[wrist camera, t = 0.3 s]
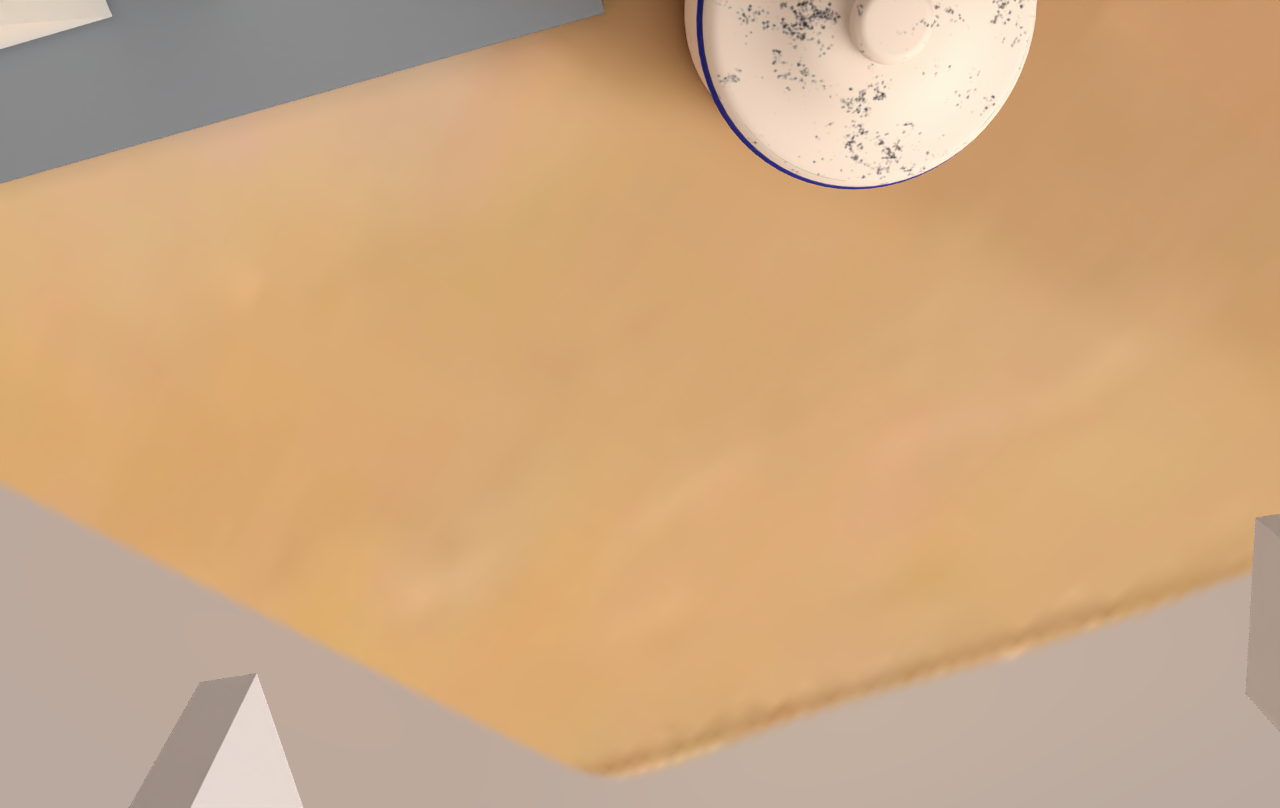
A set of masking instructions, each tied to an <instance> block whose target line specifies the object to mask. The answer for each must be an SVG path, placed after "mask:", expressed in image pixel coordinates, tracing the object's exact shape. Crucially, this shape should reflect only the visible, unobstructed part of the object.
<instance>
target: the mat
mask: <svg viewBox="0 0 1280 808" xmlns="http://www.w3.org/2000/svg"><path fill="white" fill-rule="evenodd" d="M106 2H107V5H108V7H109V9H110V12H111V14H112V17H109V18H106V19H102V20H99V21H96V22H92V23H89V24H85V25H82V26H78V27H75V28H72V29H68V30H65V31H61V32H58V33H54V34H51V35H47V36H44V37H41V38H37V39H34V40H30V41H27V42H23V43H20V44H17V45H13V46H10V47H6V48H3V49H0V183H4V182H7V181H11V180H14V179H18V178H22V177H25V176H29V175H32V174H36V173H39V172H43V171H46V170H50V169H53V168H57V167H60V166H64V165H68V164H71V163H75V162H78V161H82V160H85V159H89V158H92V157H96V156H99V155H103V154H107V153H110V152H114V151H117V150H121V149H124V148H128V147H131V146H135V145H138V144H142V143H145V142H149V141H153V140H156V139H160V138H163V137H167V136H170V135H174V134H177V133H181V132H184V131H188V130H191V129H195V128H199V127H202V126H206V125H209V124H213V123H216V122H220V121H223V120H227V119H230V118H234V117H238V116H241V115H245V114H248V113H252V112H255V111H259V110H262V109H266V108H269V107H273V106H276V105H280V104H284V103H287V102H291V101H294V100H298V99H301V98H305V97H308V96H312V95H315V94H319V93H322V92H326V91H330V90H333V89H337V88H340V87H344V86H347V85H351V84H354V83H358V82H361V81H365V80H369V79H372V78H376V77H379V76H383V75H386V74H390V73H393V72H397V71H400V70H404V69H407V68H411V67H415V66H418V65H422V64H425V63H429V62H432V61H436V60H439V59H443V58H446V57H450V56H453V55H457V54H461V53H464V52H468V51H471V50H475V49H478V48H482V47H485V46H489V45H492V44H496V43H500V42H503V41H507V40H510V39H514V38H517V37H521V36H524V35H528V34H531V33H535V32H538V31H542V30H546V29H549V28H553V27H556V26H560V25H563V24H567V23H570V22H574V21H577V20H581V19H584V18H588V17H592V16H595V15H599V14H602V13H605V12H604V8H603V4H602V0H106Z"/></svg>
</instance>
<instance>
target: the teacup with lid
mask: <svg viewBox="0 0 1280 808" xmlns="http://www.w3.org/2000/svg"><path fill="white" fill-rule="evenodd" d="M1036 5H1037V0H685V8H684V16H685V30H686V38H687V42H688V47H689V51H690V54H691V57H692V60H693V63H694V65H695V68H696V70H697V72H698V74H699V76H700V78H701V80H702V82H703V83H704V85H705V87H706V88H707V90H708V91H709V92H710V94H711V95H712V97H713V100H714V102H715V104H716V105H717V107H718V109H719V111H720V113H721V114H722V116H723V118H724V119H725V120H726V122H727V123H728V125H729V126H730V128H731V129H732V130H733V131H734V133H735V134H736V135H737V136H738V137H739V138H740V140H741V141H742V142H743V143H744V144H745V145H746V146H747V147H748V148H749V149H750V150H752V151H753V152H754V153H755V154H756V155H758V156H759V157H760V158H761V159H763V160H764V161H765V162H767V163H768V164H770V165H771V166H773V167H775V168H776V169H778V170H780V171H782V172H784V173H786V174H788V175H790V176H792V177H794V178H797V179H800V180H802V181H805V182H808V183H812V184H816V185H820V186H824V187H831V188H838V189H870V188H876V187H883V186H888V185H892V184H896V183H900V182H903V181H906V180H909V179H912V178H914V177H917V176H919V175H921V174H924V173H926V172H928V171H930V170H932V169H934V168H935V167H937V166H939V165H941V164H942V163H944V162H946V161H947V160H949V159H950V158H951V157H953V156H954V155H956V154H957V153H959V152H960V151H961V150H962V149H963V148H965V147H966V146H967V145H968V144H969V143H970V142H972V141H973V140H974V139H975V138H976V137H977V136H978V135H979V134H980V133H981V132H982V131H983V130H984V129H985V128H986V126H987V125H988V124H989V123H990V122H991V120H992V119H993V118H994V117H995V116H996V114H997V113H998V111H999V110H1000V109H1001V107H1002V106H1003V104H1004V103H1005V101H1006V100H1007V98H1008V96H1009V95H1010V93H1011V91H1012V89H1013V88H1014V86H1015V84H1016V82H1017V80H1018V77H1019V75H1020V73H1021V71H1022V68H1023V66H1024V63H1025V60H1026V57H1027V55H1028V51H1029V48H1030V44H1031V40H1032V36H1033V30H1034V24H1035V18H1036Z"/></svg>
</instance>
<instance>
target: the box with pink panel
mask: <svg viewBox="0 0 1280 808" xmlns="http://www.w3.org/2000/svg"><path fill="white" fill-rule="evenodd" d="M109 17H112V14H111V12H110V9H109V7H108V5H107V2H106V0H0V49H3V48H6V47H10V46H13V45H17V44H20V43H23V42H27V41H30V40H34V39H37V38H41V37H44V36H47V35H51V34H54V33H58V32H61V31H65V30H68V29H72V28H75V27H78V26H82V25H85V24H89V23H92V22H96V21H99V20H102V19H106V18H109Z"/></svg>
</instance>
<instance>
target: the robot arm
mask: <svg viewBox="0 0 1280 808" xmlns="http://www.w3.org/2000/svg"><path fill="white" fill-rule="evenodd" d="M1249 625H1250V626H1249V642H1248V659H1247V677H1246V695H1247V696H1248V697H1249V698H1250V699H1251V700H1252V701H1253V702H1254V704H1255V705H1256V706H1257V707H1258V708H1259V709H1260V710H1261V711H1262V712H1263V714H1264V715H1265V716H1266V717H1267V718H1268V719H1269V720H1270V721H1271V723H1272V724H1273V725H1274V726H1275V727H1276V728H1277V729H1278V730H1279V731H1280V514H1276V515H1270V516H1263V517H1257V518H1255V534H1254V552H1253V570H1252V588H1251V606H1250V623H1249ZM129 808H303V806H302V803H301V800H300V797H299V794H298V791H297V789H296V786H295V782H294V780H293V777H292V774H291V771H290V768H289V765H288V763H287V759H286V757H285V754H284V751H283V748H282V745H281V742H280V739H279V736H278V733H277V731H276V728H275V725H274V722H273V719H272V716H271V713H270V711H269V707H268V705H267V702H266V699H265V696H264V693H263V690H262V688H261V684H260V682H259V679H258V676H257V674H256V673H255V674H249V675H243V676H236V677H230V678H223V679H217V680H211V681H205V682H200V683H199V685H198V686H197V688H196V690H195V692H194V693H193V695H192V697H191V699H190V701H189V702H188V704H187V706H186V708H185V709H184V711H183V713H182V715H181V716H180V718H179V720H178V722H177V724H176V726H175V727H174V729H173V731H172V733H171V734H170V736H169V738H168V740H167V741H166V743H165V745H164V747H163V748H162V750H161V752H160V754H159V755H158V757H157V759H156V761H155V762H154V765H153V766H152V768H151V770H150V771H149V773H148V775H147V777H146V778H145V780H144V782H143V784H142V785H141V787H140V789H139V791H138V793H137V794H136V796H135V798H134V800H133V801H132V803H131V805H130V807H129Z"/></svg>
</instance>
